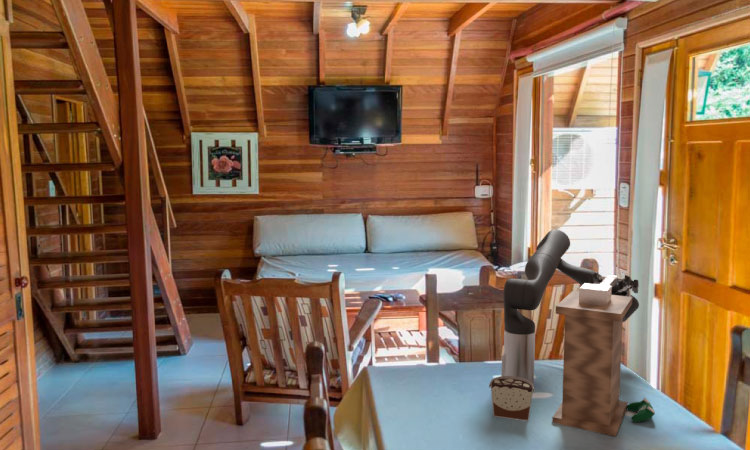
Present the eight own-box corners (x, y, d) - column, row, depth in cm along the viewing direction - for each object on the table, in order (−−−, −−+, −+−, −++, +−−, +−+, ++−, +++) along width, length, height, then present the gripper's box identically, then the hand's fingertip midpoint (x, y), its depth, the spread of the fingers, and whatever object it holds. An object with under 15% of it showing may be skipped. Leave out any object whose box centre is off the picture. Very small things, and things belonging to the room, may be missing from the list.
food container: (536, 412, 169) (536, 378, 168) (534, 421, 164) (535, 386, 162) (491, 406, 173) (491, 373, 172) (488, 415, 168) (488, 380, 166)
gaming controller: (640, 430, 162) (658, 416, 161) (630, 419, 163) (648, 406, 161) (634, 415, 171) (651, 403, 170) (624, 405, 172) (641, 392, 170)
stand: (552, 422, 163) (555, 306, 159) (569, 396, 180) (573, 290, 176) (615, 436, 155) (621, 314, 151) (627, 407, 172) (632, 297, 168)
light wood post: (578, 302, 162) (579, 288, 162) (600, 280, 189) (601, 268, 189) (606, 305, 159) (607, 290, 158) (624, 282, 186) (625, 270, 185)
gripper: (595, 279, 202) (587, 262, 189) (642, 284, 194) (637, 266, 181) (592, 301, 199) (584, 285, 186) (639, 306, 192) (634, 290, 179)
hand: (610, 276), depth 184 cm, fingers open, 8 cm apart
